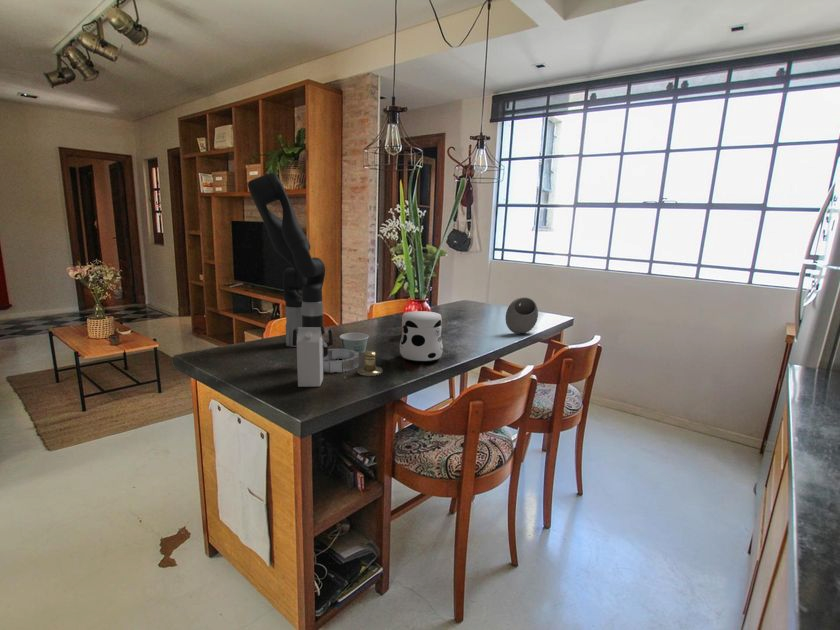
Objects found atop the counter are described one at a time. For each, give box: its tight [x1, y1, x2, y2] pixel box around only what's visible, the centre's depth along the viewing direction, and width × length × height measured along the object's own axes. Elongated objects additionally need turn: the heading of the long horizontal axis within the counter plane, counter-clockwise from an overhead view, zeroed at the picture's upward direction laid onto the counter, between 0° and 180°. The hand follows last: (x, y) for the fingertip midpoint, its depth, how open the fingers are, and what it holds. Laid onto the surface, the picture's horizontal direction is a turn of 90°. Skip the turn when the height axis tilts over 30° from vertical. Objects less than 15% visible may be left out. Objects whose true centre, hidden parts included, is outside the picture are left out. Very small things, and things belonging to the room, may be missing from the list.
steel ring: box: [323, 348, 360, 374], centre depth 160 cm, size 17×17×4 cm
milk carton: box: [296, 327, 324, 388], centre depth 140 cm, size 7×7×19 cm
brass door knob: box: [356, 350, 384, 377], centre depth 153 cm, size 9×9×7 cm
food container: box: [339, 332, 370, 355], centre depth 179 cm, size 12×12×6 cm
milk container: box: [399, 310, 444, 363], centre depth 169 cm, size 17×17×18 cm
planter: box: [505, 296, 539, 335], centre depth 214 cm, size 18×7×19 cm, turn 110°
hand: (313, 356), depth 158 cm, fingers open, 8 cm apart
